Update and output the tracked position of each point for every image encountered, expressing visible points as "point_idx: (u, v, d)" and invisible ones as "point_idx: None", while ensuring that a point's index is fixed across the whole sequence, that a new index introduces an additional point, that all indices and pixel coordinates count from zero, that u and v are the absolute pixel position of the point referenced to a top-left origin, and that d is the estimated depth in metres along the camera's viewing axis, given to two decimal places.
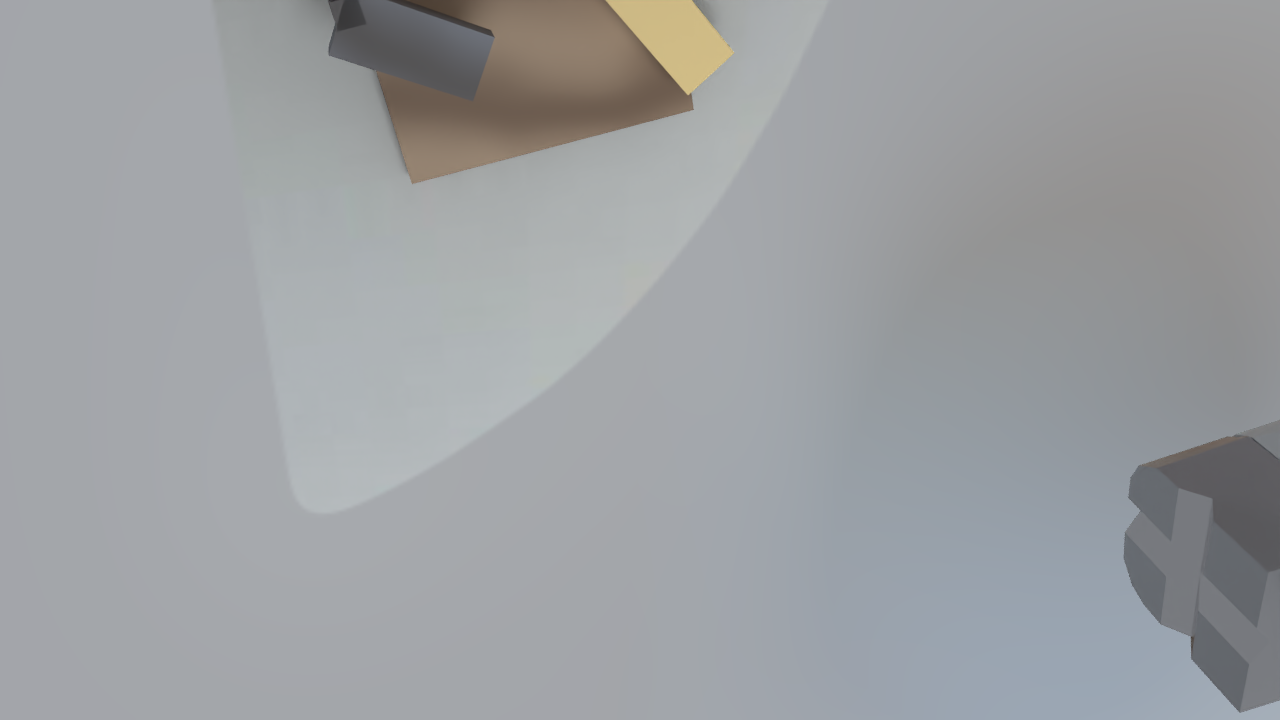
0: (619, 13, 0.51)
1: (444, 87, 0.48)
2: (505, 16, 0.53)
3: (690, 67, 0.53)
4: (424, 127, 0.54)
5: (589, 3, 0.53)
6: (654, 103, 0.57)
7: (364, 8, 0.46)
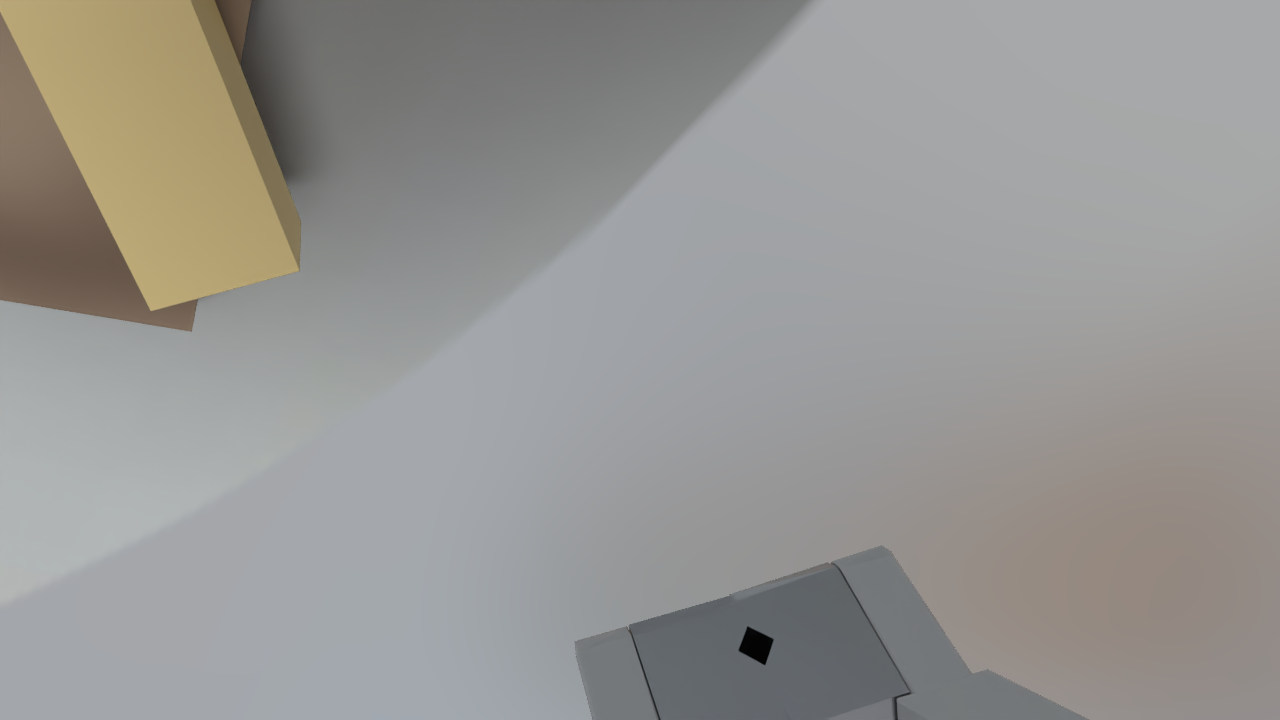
0: (24, 48, 0.19)
1: None
2: None
3: (178, 254, 0.21)
4: None
5: None
6: (100, 282, 0.24)
7: None
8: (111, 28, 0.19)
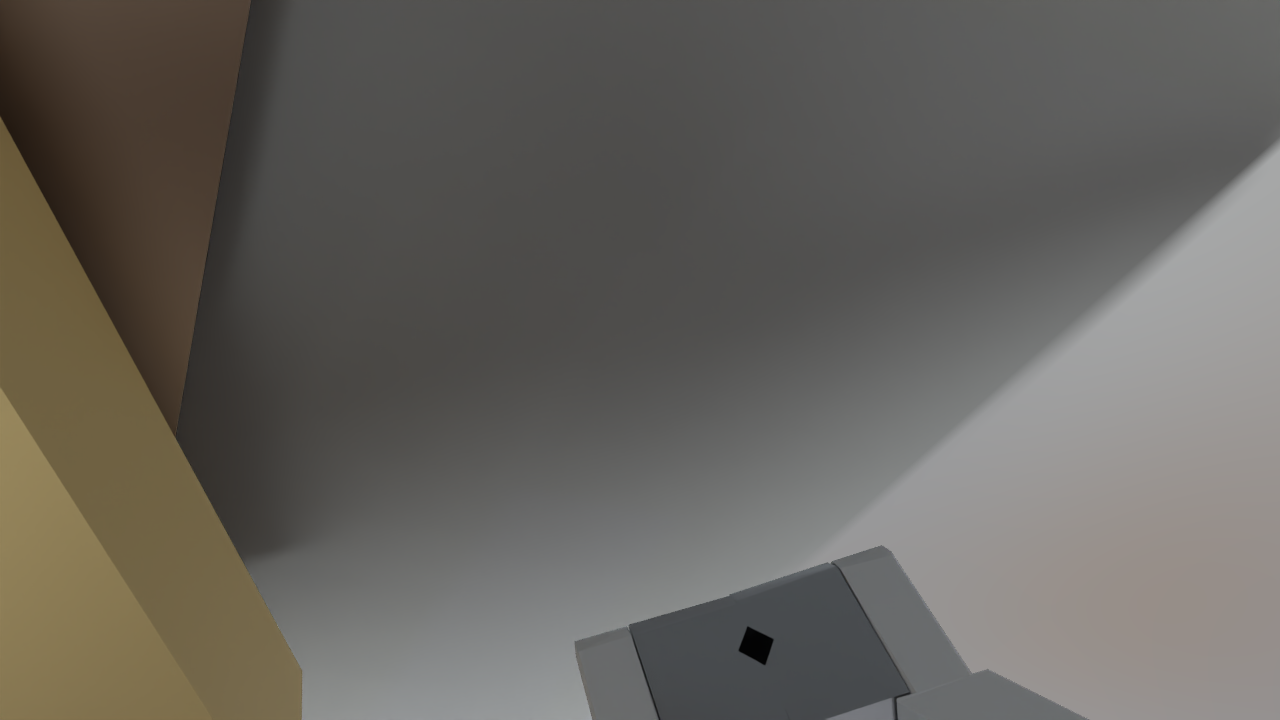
0: None
1: None
2: None
3: None
4: None
5: None
6: None
7: None
8: None
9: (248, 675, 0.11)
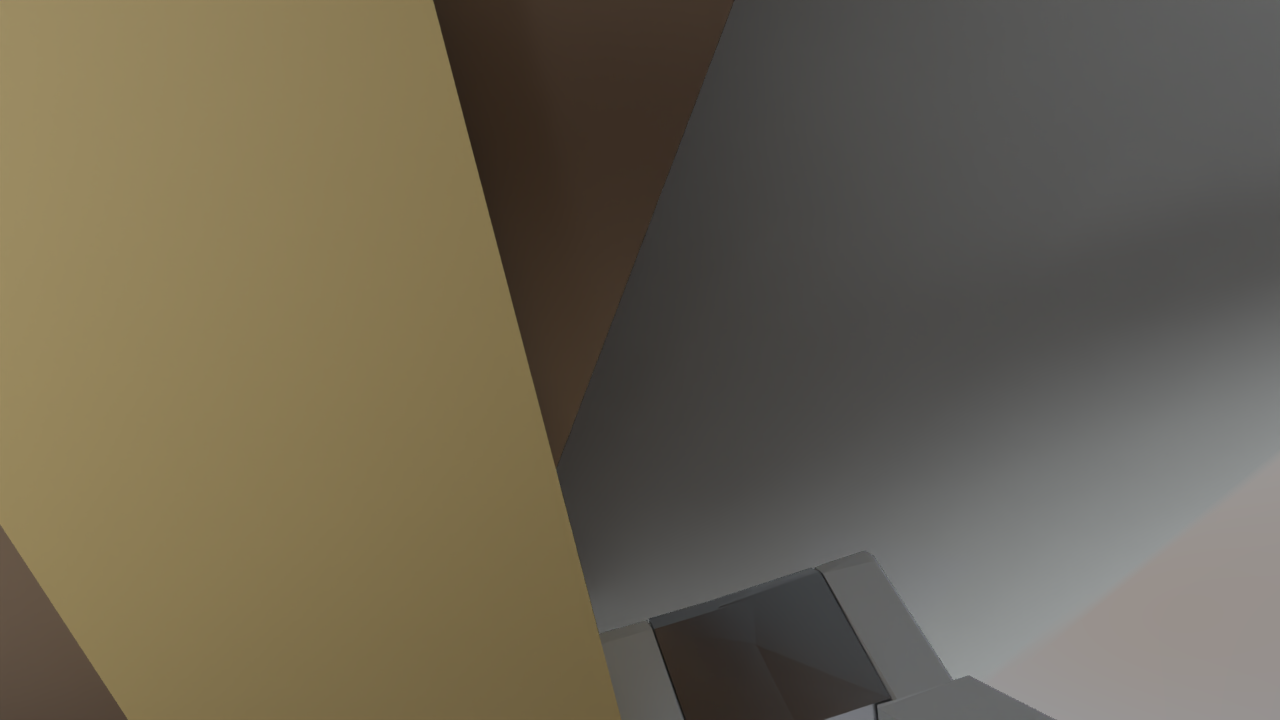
0: (92, 639, 0.07)
1: None
2: None
3: None
4: None
5: None
6: None
7: None
8: (337, 569, 0.07)
9: None
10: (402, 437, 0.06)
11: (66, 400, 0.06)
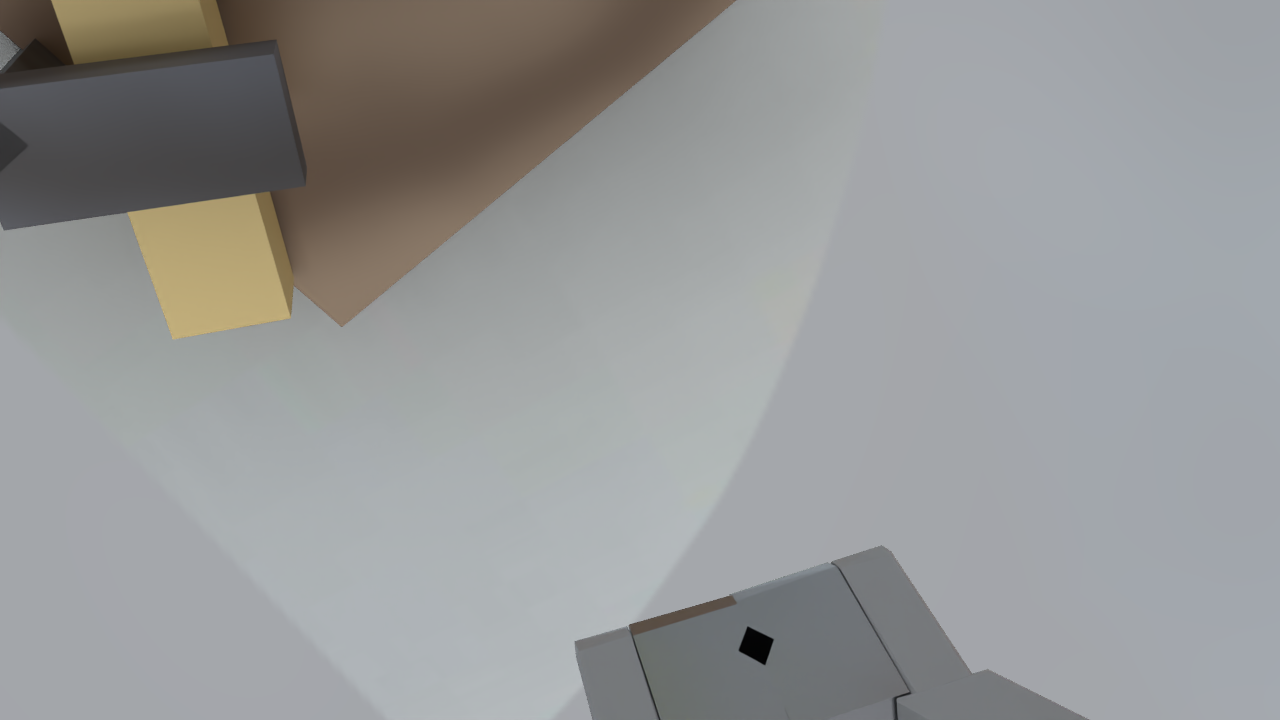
0: None
1: (240, 186, 0.25)
2: None
3: (199, 298, 0.28)
4: (308, 235, 0.31)
5: None
6: (671, 15, 0.30)
7: (5, 119, 0.23)
8: None
9: (278, 250, 0.29)
10: None
11: None
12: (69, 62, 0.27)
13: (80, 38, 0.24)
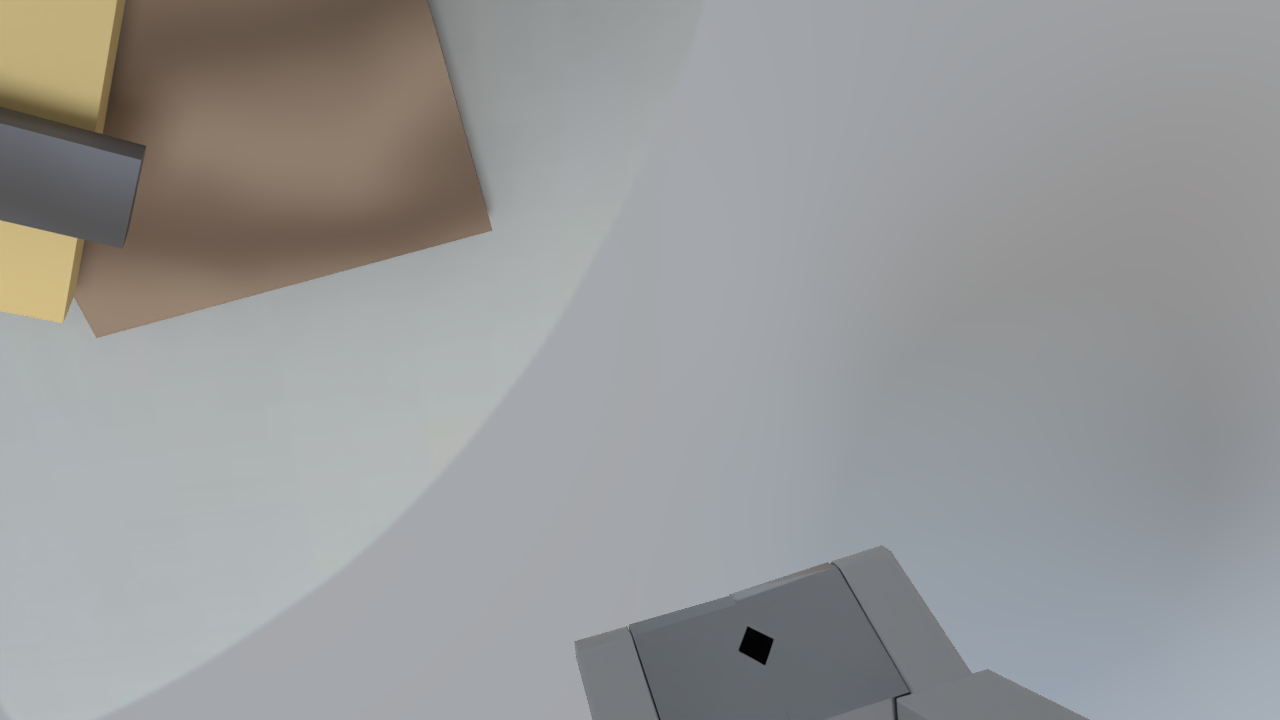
0: None
1: (74, 231, 0.33)
2: (200, 114, 0.37)
3: None
4: (102, 264, 0.39)
5: (323, 94, 0.38)
6: (434, 224, 0.41)
7: None
8: None
9: (75, 270, 0.37)
10: None
11: None
12: None
13: (0, 83, 0.33)
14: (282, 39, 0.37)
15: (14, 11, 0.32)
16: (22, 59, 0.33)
